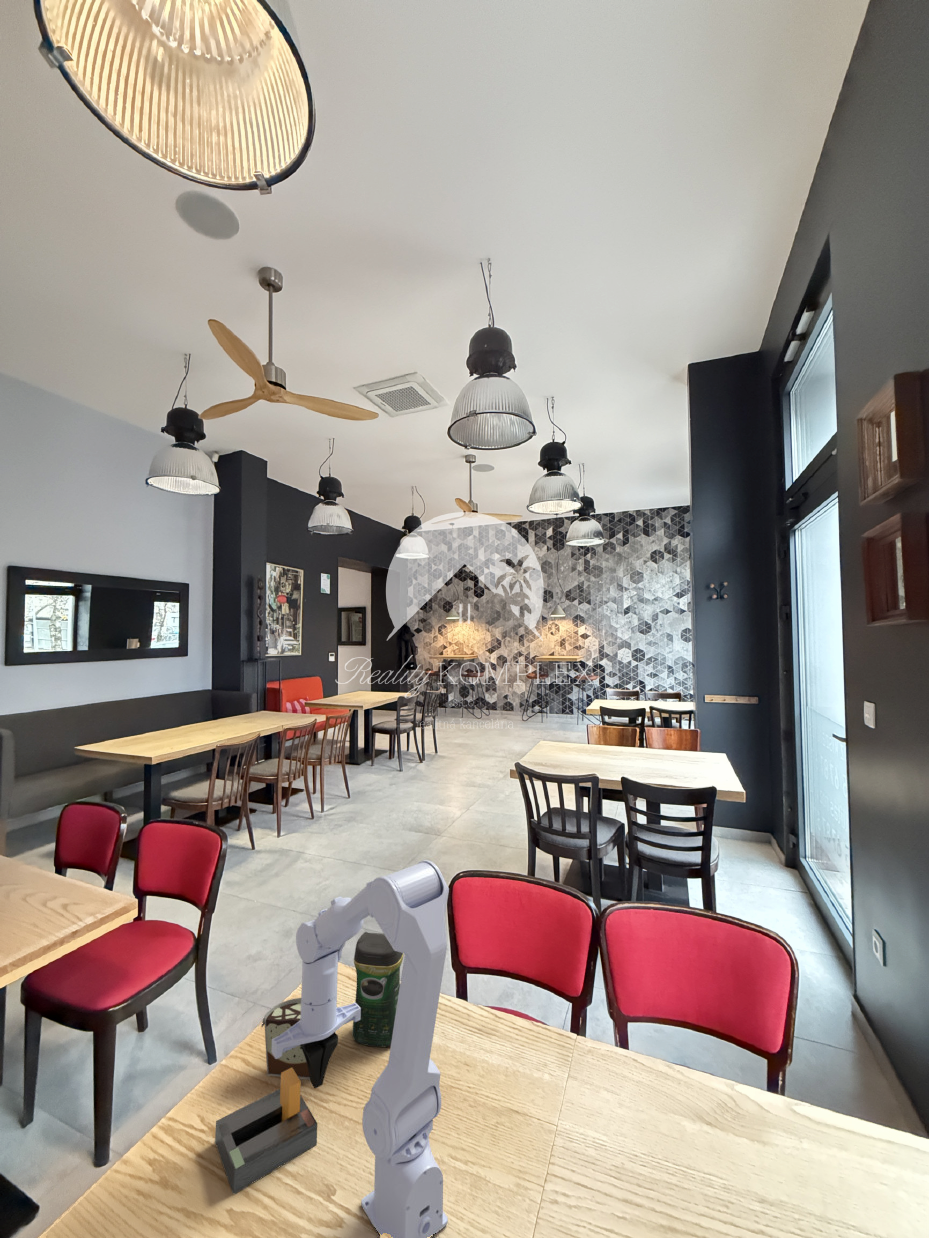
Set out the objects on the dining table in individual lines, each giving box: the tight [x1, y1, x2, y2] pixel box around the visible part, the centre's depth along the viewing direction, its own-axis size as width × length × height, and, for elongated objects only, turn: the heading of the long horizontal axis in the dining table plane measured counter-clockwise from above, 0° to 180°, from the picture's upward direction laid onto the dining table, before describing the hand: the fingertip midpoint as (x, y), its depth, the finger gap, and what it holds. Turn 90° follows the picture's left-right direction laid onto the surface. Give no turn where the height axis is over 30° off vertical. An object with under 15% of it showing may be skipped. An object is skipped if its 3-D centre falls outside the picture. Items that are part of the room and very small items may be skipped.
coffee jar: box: [351, 931, 405, 1048], centre depth 103 cm, size 10×8×19 cm
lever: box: [279, 1068, 302, 1122], centre depth 81 cm, size 4×2×7 cm, turn 39°
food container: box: [261, 997, 310, 1081], centre depth 95 cm, size 12×6×10 cm, turn 84°
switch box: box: [214, 1088, 318, 1195], centre depth 79 cm, size 10×12×3 cm
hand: (316, 1082), depth 84 cm, fingers closed
